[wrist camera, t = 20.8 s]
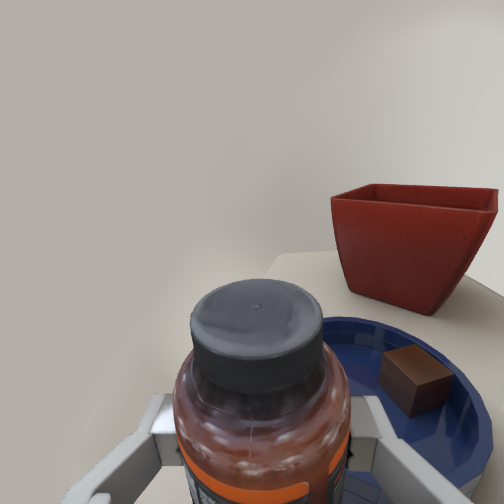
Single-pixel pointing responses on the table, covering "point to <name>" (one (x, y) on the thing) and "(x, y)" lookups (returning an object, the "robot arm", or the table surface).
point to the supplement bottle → (262, 399)
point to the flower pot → (410, 240)
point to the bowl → (418, 427)
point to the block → (414, 380)
